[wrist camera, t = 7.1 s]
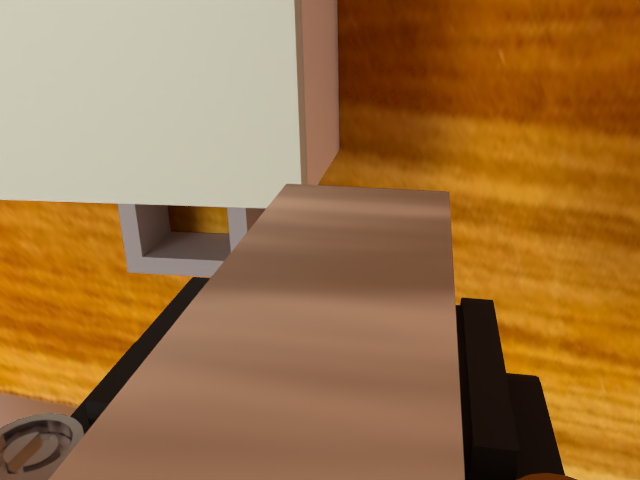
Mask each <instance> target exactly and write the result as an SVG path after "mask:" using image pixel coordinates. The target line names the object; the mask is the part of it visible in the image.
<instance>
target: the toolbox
mask: <svg viewBox="0 0 640 480" xmlns="http://www.w3.org/2000/svg"><path fill="white" fill-rule="evenodd" d="M300 15H301V43H302V72H303V100H304V129H305V157H306V185H318V184H319V182H320V180H321V179H322V177H323V176H324V174H325V172H326V171H327V169H328V168H329V166H330V164H331V163H332V161H333V160H334V158H335V156H336V155H337V153H338V152H339V150H340V148H339V77H338V5H337V0H300ZM117 204H118V203H117ZM118 210H119V217H120V223H121V230H122V236H123V242H124V249H125V255H126V262H127V268H128V272H130V273H148V274H167V275H185V276H204V277H212V276H213V274H214V273H215V272H216V271H217V269H218V268H219V267H220V266H221V264H222V263H223V262H224V261H225V259H226V258H227V257H228V256H229V254H230V253H231V252H232V251H233V249H234V248H235V247H236V246H237V244H238V243H239V242H240V241H241V239H242V238H243V237H244V236H245V235H246V233H247V232H248V231H249V230H250V228H251V227H252V226H253V225H254V223H255V222H256V221H257V220H258V218H259V217H260V216H261V215H262V213H263V212H264V211H265V210H266V208H238V207H227V212H228V224H229V234H218V233H194V232H171V229H170V221H169V213H168V205H148V204H118Z"/></svg>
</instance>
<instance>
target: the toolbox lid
mask: <svg viewBox="0 0 640 480" xmlns="http://www.w3.org/2000/svg"><path fill="white" fill-rule="evenodd" d="M286 184H306V157H305V129H304V100H303V72H302V43H301V15H300V0H0V200H28V201H58V202H88V203H118V204H148V205H178V206H208V207H238V208H267V207H268V206H269V205H270V203H271V202H272V201H273V200H274V198H275V197H276V196H277V195H278V193H279V192H280V191H281V190H282V188H283V187H284V186H285V185H286Z"/></svg>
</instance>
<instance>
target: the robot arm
mask: <svg viewBox="0 0 640 480" xmlns="http://www.w3.org/2000/svg"><path fill="white" fill-rule="evenodd" d="M209 279H210V278H201V277H193V278H192V279H191V280H190V281H189V282H188V283H187V284H186V285H185V286H184V288H183V289H182V290H181V291H180V292H179V293H178V295H177V296H176V297H175V298H174V299H173V300H172V301H171V303H170V304H169V305H168V306H167V307H166V308H165V309H164V311H163V312H162V313H161V314H160V315H159V316H158V318H157V319H156V320H155V321H154V322H153V323H152V324H151V326H150V327H149V328H148V329H147V330H146V331H145V332H144V334H143V335H142V336H141V337H140V338H139V339H138V341H136V342H135V343H134V344H133V345H132V346H131V347H130V349H129V350H128V351H127V352H126V353H125V354H124V356H123V357H122V358H121V359H120V360H119V361H118V362H117V364H116V365H115V366H114V367H113V368H112V369H111V370H110V372H109V373H108V374H107V375H106V376H105V377H104V378H103V380H102V381H101V382H100V383H99V384H98V385H97V386H96V388H95V389H94V390H93V391H92V392H91V393H90V394H89V396H88V397H87V398H86V399H85V400H84V401H83V403H82V404H81V405H80V406H79V407H78V408H77V409H76V411H75V412H74V413H73V414H72V415H71V416H70V417H69V416H67V415H64V414H53V413H49V414H38V415H33V416H29V417H25V418H22V419H18V420H16V421H14V422H12V423H9V424H7V425H5V426H3V427H2V428H0V480H49V479H50V477H51V476H52V475H53V474H54V472H55V471H56V470H57V469H58V467H59V466H60V465H61V464H62V462H63V461H64V460H65V459H66V457H67V456H68V455H69V454H70V452H71V451H72V450H73V449H74V447H75V446H76V445H77V444H78V442H79V441H80V440H81V439H82V437H83V436H84V435H85V434H86V432H87V431H88V430H89V429H90V428H91V426H92V425H93V424H94V423H95V421H96V420H97V419H98V418H99V416H100V415H101V414H102V413H103V411H104V410H105V409H106V408H107V406H108V405H109V404H110V403H111V401H112V400H113V399H114V398H115V396H116V395H117V394H118V393H119V391H120V390H121V389H122V388H123V386H124V385H125V384H126V383H127V381H128V380H129V379H130V378H131V376H132V375H133V374H134V373H135V371H136V370H137V369H138V368H139V367H140V365H141V364H142V363H143V362H144V360H145V359H146V358H147V357H148V355H149V354H150V353H151V352H152V350H153V349H154V348H155V347H156V345H157V344H158V343H159V342H160V340H161V339H162V338H163V337H164V335H165V334H166V333H167V332H168V330H169V329H170V328H171V327H172V325H173V324H174V323H175V322H176V320H177V319H178V318H179V317H180V315H181V314H182V313H183V312H184V310H185V309H186V308H187V307H188V305H189V304H190V303H191V302H192V301H193V299H194V298H195V297H196V296H197V294H198V293H199V292H200V291H201V289H202V288H203V287H204V286H205V284H206V283H207V282H208V281H209ZM455 307H456V326H457V344H458V363H459V381H460V399H461V418H462V436H463V454H464V473H465V480H577V479H574V478H571V477H568V476H565V474H564V470H563V466H562V462H561V458H560V455H559V451H558V447H557V443H556V439H555V436H554V432H553V428H552V424H551V420H550V417H549V413H548V409H547V405H546V401H545V398H544V394H543V390H542V386H541V382H540V380H539V377H537V376H532V375H521V374H511V373H506V370H505V364H504V359H503V353H502V348H501V342H500V336H499V331H498V325H497V320H496V314H495V308H494V303H493V300H485V299H472V298H461V303H460V305H455Z"/></svg>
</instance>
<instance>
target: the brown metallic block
mask: <svg viewBox="0 0 640 480" xmlns="http://www.w3.org/2000/svg"><path fill="white" fill-rule="evenodd" d="M49 480H465V473H464V454H463V436H462V418H461V399H460V381H459V363H458V344H457V326H456V307H455V289H454V271H453V252H452V234H451V216H450V197H449V192H445V191H425V190H405V189H385V188H365V187H345V186H325V185H306V184H286V185H285V186H284V187H283V188H282V190H281V191H280V192H279V193H278V195H277V196H276V197H275V198H274V200H273V201H272V202H271V203H270V205H269V206H268V207H267V208H266V210H265V211H264V212H263V213H262V215H261V216H260V217H259V218H258V220H257V221H256V222H255V223H254V225H253V226H252V227H251V228H250V230H249V231H248V232H247V233H246V235H245V236H244V237H243V238H242V239H241V241H240V242H239V243H238V244H237V246H236V247H235V248H234V249H233V251H232V252H231V253H230V254H229V256H228V257H227V258H226V259H225V261H224V262H223V263H222V264H221V266H220V267H219V268H218V269H217V271H216V272H215V273H214V274H213V276H212V277H211V278H210V279H209V281H208V282H207V283H206V284H205V286H204V287H203V288H202V289H201V291H200V292H199V293H198V294H197V296H196V297H195V298H194V299H193V301H192V302H191V303H190V304H189V305H188V307H187V308H186V309H185V310H184V312H183V313H182V314H181V315H180V317H179V318H178V319H177V320H176V322H175V323H174V324H173V325H172V327H171V328H170V329H169V330H168V332H167V333H166V334H165V335H164V337H163V338H162V339H161V340H160V342H159V343H158V344H157V345H156V347H155V348H154V349H153V350H152V352H151V353H150V354H149V355H148V357H147V358H146V359H145V360H144V362H143V363H142V364H141V365H140V367H139V368H138V369H137V370H136V371H135V373H134V374H133V375H132V376H131V378H130V379H129V380H128V381H127V383H126V384H125V385H124V386H123V388H122V389H121V390H120V391H119V393H118V394H117V395H116V396H115V398H114V399H113V400H112V401H111V403H110V404H109V405H108V406H107V408H106V409H105V410H104V411H103V413H102V414H101V415H100V416H99V418H98V419H97V420H96V421H95V423H94V424H93V425H92V426H91V428H90V429H89V430H88V431H87V432H86V434H85V435H84V436H83V437H82V439H81V440H80V441H79V442H78V444H77V445H76V446H75V447H74V449H73V450H72V451H71V452H70V454H69V455H68V456H67V457H66V459H65V460H64V461H63V462H62V464H61V465H60V466H59V467H58V469H57V470H56V471H55V472H54V474H53V475H52V476H51V477H50V479H49Z"/></svg>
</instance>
